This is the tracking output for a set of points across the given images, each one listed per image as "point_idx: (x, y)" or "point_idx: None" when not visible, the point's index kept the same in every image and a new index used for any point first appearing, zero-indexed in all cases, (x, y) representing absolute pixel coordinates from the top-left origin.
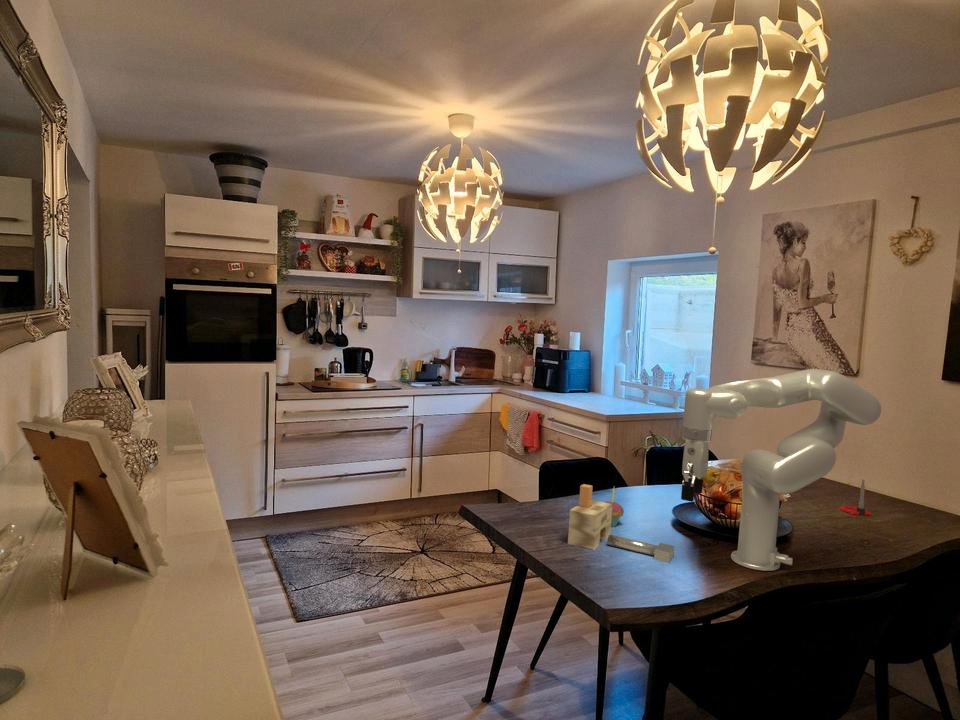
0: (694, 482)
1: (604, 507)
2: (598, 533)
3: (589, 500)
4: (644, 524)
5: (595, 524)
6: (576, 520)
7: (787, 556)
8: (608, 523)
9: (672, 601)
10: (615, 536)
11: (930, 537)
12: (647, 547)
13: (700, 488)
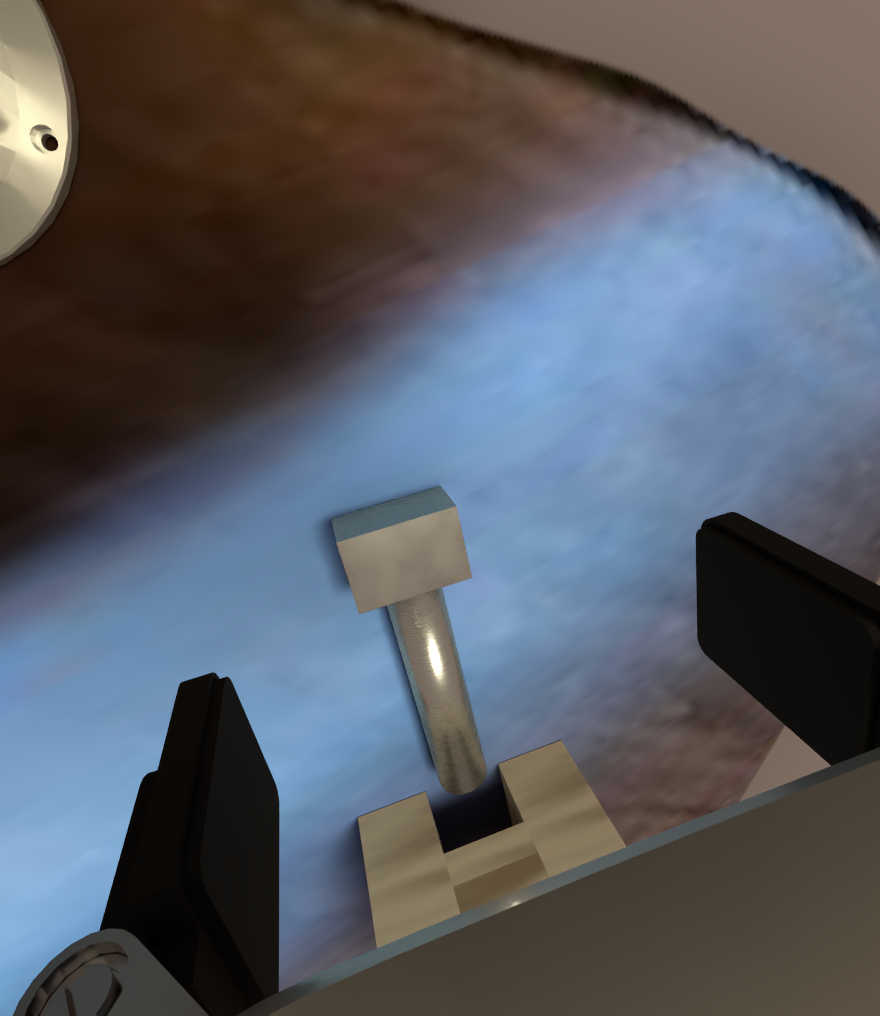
0: (254, 900)
1: None
2: (544, 805)
3: None
4: (14, 871)
5: (619, 837)
6: None
7: None
8: (410, 870)
9: (832, 244)
10: (466, 768)
11: None
12: (446, 621)
13: (221, 739)
